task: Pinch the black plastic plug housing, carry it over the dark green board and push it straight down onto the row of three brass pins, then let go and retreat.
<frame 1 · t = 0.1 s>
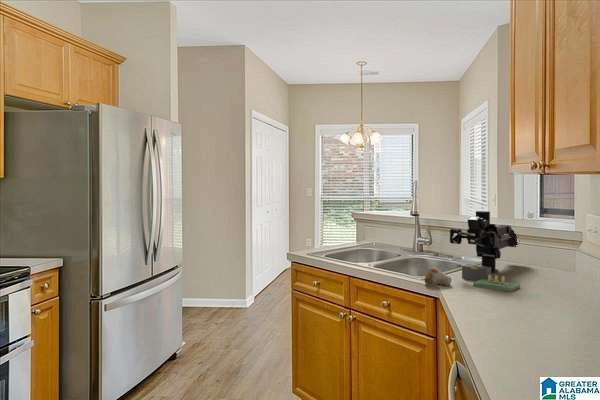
hand: (463, 240, 183), 17 cm above the worktop, tool horizontal, fingers open, 9 cm apart
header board: (496, 286, 175), on the worktop
plug housing: (476, 278, 188), on the worktop
mug: (438, 285, 179), on the worktop
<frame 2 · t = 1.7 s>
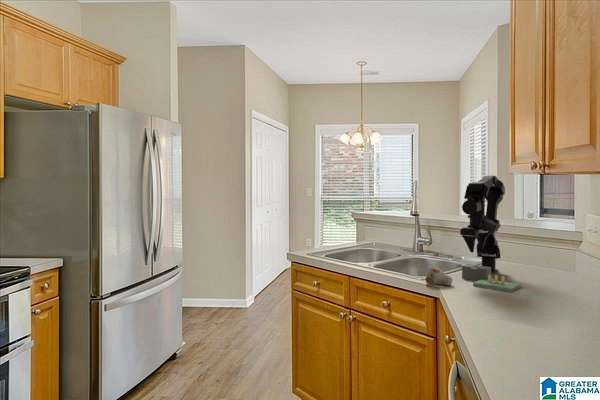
hand: (476, 250, 188), 11 cm above the worktop, tool pointing down, fingers open, 9 cm apart
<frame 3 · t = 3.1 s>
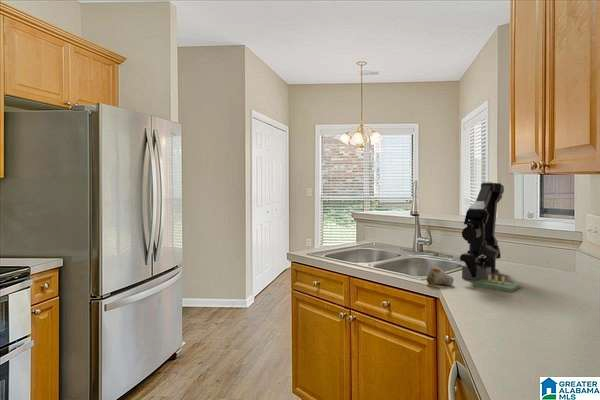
hand: (476, 276, 188), 1 cm above the worktop, tool pointing down, fingers closed on plug housing, 5 cm apart
plug housing: (476, 278, 188), on the worktop, touching gripper
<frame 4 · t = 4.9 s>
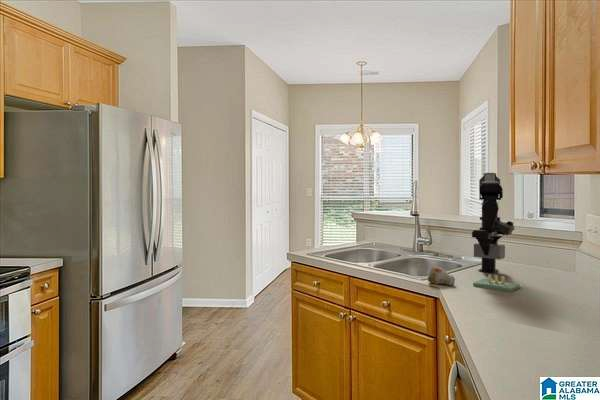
hand: (489, 254, 178), 12 cm above the worktop, tool pointing down, fingers closed on plug housing, 5 cm apart
plug housing: (489, 257, 179), point 11 cm above the worktop, touching gripper
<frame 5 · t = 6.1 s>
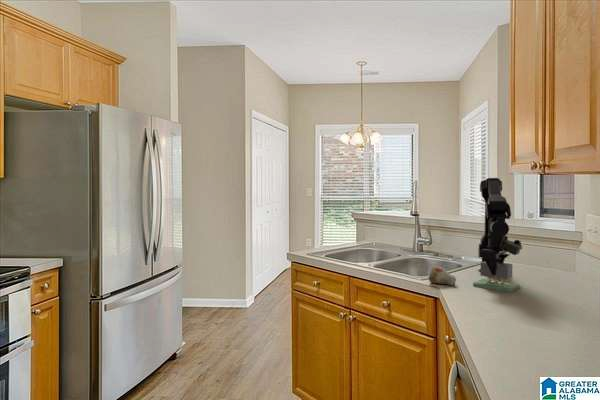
hand: (496, 273, 175), 5 cm above the worktop, tool pointing down, fingers closed on plug housing, 5 cm apart
plug housing: (496, 276, 175), point 4 cm above the worktop, touching gripper
when the fingers open (3 cm above the worktop, at t = 6.9 s): plug housing stays where it is, resting on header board.
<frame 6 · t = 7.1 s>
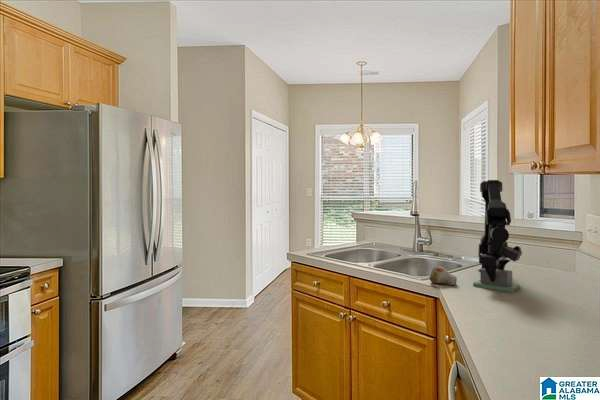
hand: (496, 279, 175), 3 cm above the worktop, tool pointing down, fingers open, 7 cm apart
plug housing: (496, 283, 175), point 1 cm above the worktop, touching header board
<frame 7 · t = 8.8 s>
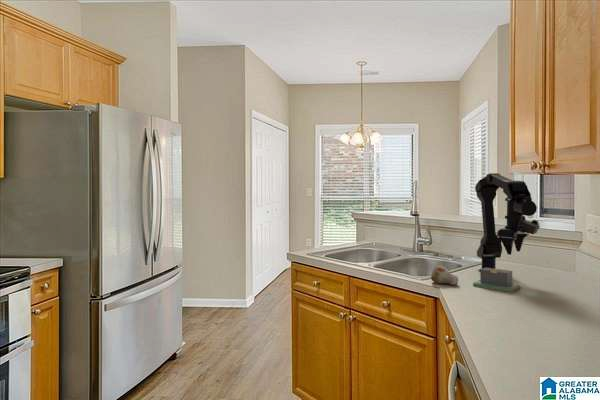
hand: (514, 252, 180), 12 cm above the worktop, tool pointing down, fingers open, 9 cm apart
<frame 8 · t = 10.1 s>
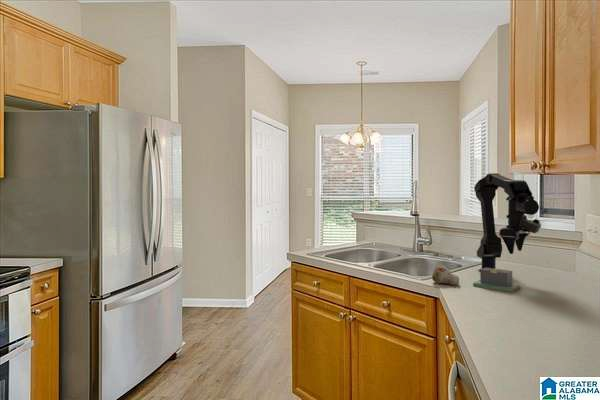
hand: (515, 252, 181), 12 cm above the worktop, tool pointing down, fingers open, 9 cm apart
at the end: plug housing 0.1 cm off-centre on the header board, point 1.3 cm above the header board's base; plug housing tilted 0°; the gripper is holding nothing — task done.
